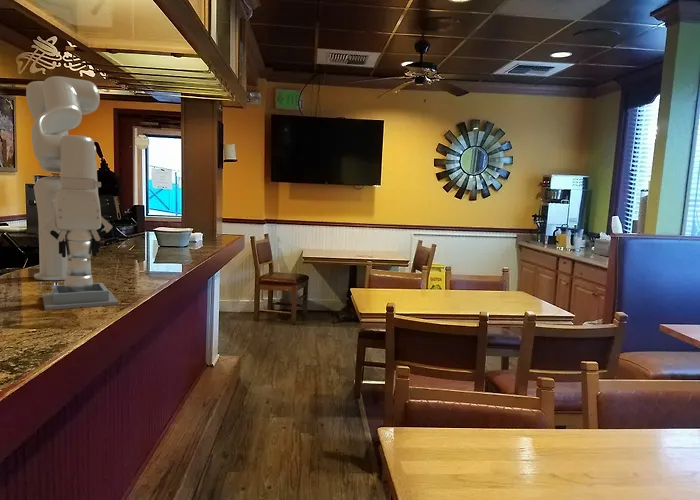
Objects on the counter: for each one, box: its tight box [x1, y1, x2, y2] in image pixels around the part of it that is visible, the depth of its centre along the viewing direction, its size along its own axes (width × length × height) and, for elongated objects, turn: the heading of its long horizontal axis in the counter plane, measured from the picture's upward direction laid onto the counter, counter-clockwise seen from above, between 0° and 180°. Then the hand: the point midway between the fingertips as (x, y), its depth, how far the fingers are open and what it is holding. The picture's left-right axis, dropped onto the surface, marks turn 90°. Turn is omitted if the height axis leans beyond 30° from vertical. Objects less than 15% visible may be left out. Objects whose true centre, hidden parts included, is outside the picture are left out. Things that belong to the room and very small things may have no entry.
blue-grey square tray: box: [42, 282, 120, 311], centre depth 130 cm, size 16×16×3 cm
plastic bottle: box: [63, 228, 94, 293], centre depth 129 cm, size 6×7×20 cm
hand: (79, 255), depth 129 cm, fingers open, 6 cm apart
